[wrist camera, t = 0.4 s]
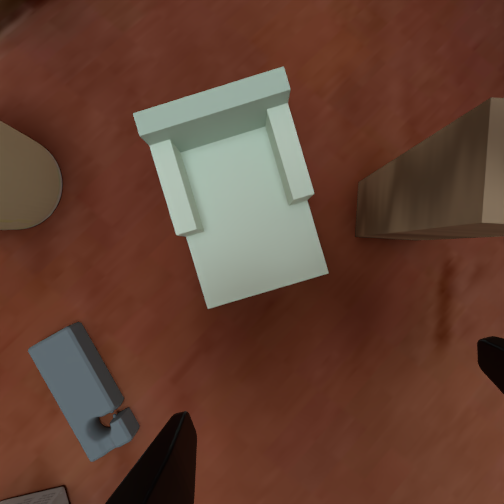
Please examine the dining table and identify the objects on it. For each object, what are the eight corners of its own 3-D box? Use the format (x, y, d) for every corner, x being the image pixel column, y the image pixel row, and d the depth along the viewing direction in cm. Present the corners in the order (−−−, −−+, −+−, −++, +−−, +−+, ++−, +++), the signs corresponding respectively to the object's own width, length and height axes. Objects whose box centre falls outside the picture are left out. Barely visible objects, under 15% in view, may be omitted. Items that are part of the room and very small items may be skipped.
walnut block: (415, 240, 21) (647, 229, 9) (355, 236, 21) (497, 221, 9) (419, 185, 21) (658, 94, 9) (358, 182, 21) (507, 87, 9)
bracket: (83, 319, 22) (66, 326, 20) (143, 424, 22) (132, 441, 20) (45, 341, 22) (24, 350, 20) (104, 445, 22) (89, 464, 20)
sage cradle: (325, 272, 21) (346, 279, 16) (209, 306, 22) (196, 323, 17) (277, 109, 21) (283, 66, 16) (161, 144, 21) (132, 113, 16)
